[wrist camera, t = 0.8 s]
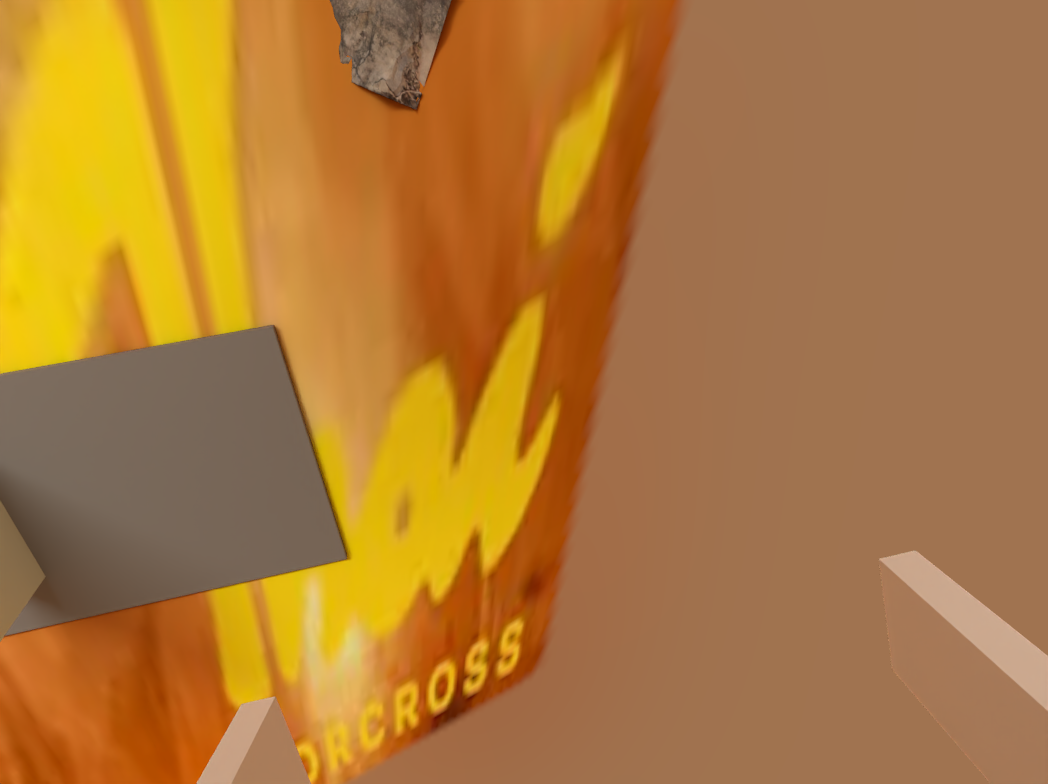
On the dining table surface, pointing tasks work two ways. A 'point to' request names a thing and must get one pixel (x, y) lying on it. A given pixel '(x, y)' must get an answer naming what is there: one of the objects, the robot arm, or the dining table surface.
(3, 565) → the terracotta tile
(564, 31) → the dining table surface
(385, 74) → the stone slab
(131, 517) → the rubber mat
